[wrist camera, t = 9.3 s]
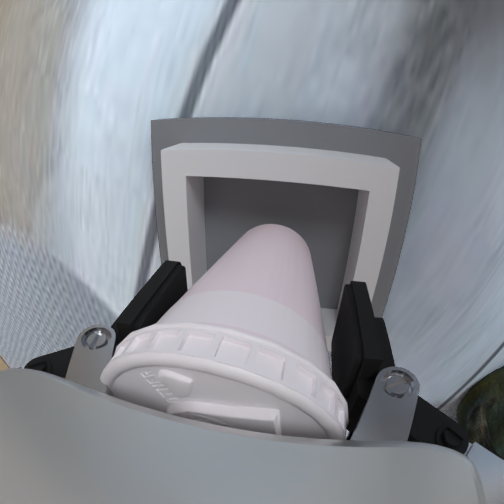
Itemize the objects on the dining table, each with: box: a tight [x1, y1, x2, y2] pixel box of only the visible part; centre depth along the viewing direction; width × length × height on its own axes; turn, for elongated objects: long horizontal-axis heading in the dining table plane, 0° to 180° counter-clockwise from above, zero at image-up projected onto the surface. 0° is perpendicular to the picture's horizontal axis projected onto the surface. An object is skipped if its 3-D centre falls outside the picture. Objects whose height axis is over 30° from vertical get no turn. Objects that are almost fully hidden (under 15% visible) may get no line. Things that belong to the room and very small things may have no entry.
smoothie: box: [100, 224, 349, 440], centre depth 9 cm, size 6×6×14 cm
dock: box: [151, 117, 421, 352], centre depth 16 cm, size 14×13×4 cm
